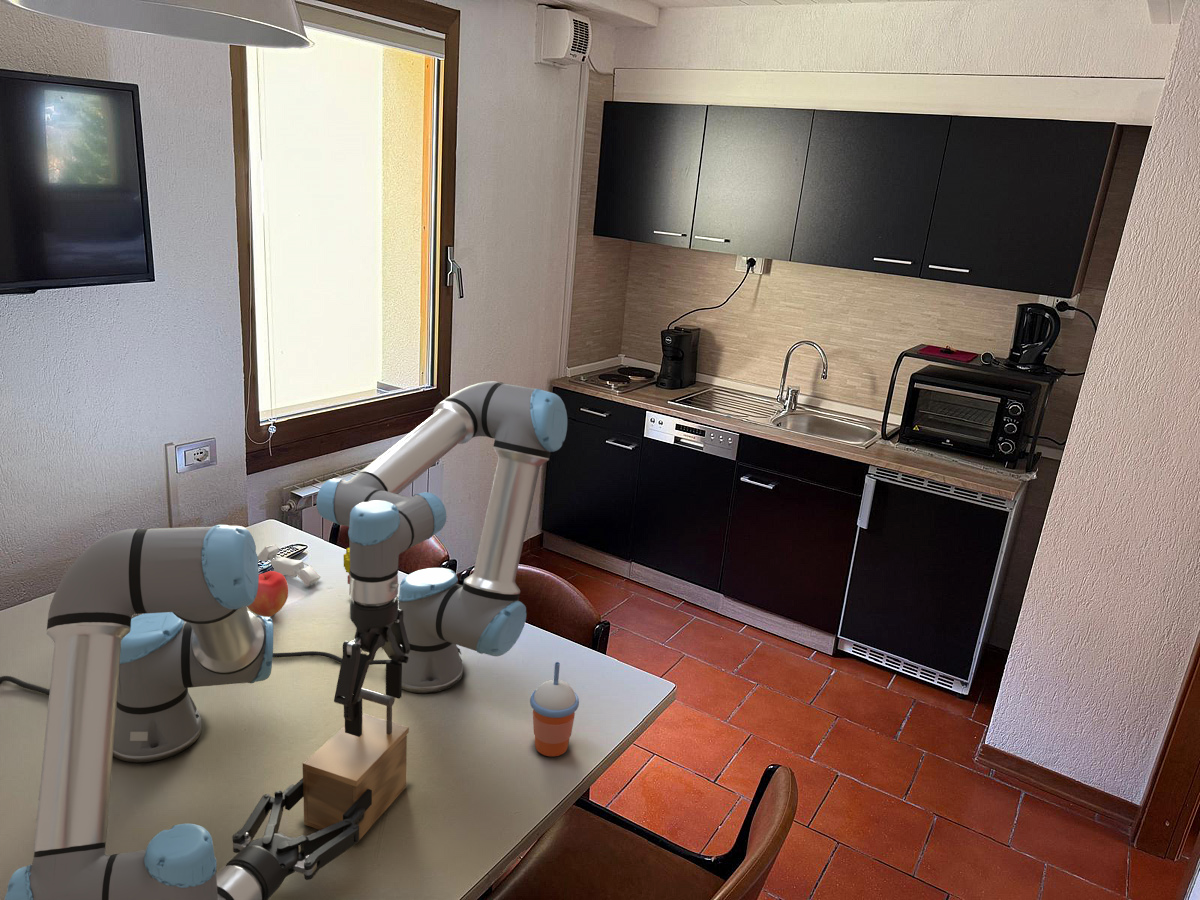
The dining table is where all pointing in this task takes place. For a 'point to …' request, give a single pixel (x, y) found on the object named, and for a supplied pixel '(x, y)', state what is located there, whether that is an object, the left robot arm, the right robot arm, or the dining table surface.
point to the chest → (355, 792)
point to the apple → (270, 594)
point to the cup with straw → (553, 715)
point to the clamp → (289, 565)
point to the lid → (358, 745)
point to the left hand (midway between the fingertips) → (341, 786)
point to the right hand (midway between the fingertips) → (374, 714)
